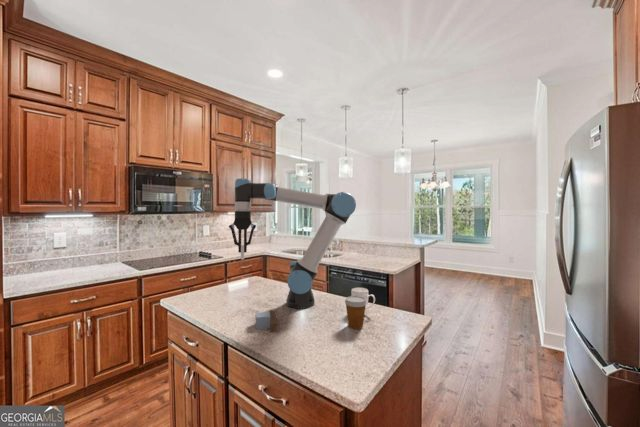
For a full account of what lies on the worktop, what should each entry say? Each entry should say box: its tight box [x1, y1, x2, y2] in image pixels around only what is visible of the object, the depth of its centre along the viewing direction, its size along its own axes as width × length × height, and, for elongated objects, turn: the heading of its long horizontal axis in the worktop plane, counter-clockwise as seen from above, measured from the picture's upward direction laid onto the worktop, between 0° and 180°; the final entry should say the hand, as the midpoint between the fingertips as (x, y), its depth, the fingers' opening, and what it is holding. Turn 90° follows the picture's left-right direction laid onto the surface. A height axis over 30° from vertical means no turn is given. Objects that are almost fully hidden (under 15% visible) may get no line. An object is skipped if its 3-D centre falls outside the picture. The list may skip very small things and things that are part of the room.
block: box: [255, 311, 270, 330], centre depth 125 cm, size 6×6×5 cm
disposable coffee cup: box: [344, 295, 368, 330], centre depth 125 cm, size 10×10×12 cm
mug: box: [350, 287, 376, 311], centre depth 141 cm, size 12×8×11 cm
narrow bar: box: [268, 309, 279, 333], centre depth 126 cm, size 3×16×4 cm, turn 13°
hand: (242, 259), depth 140 cm, fingers closed
